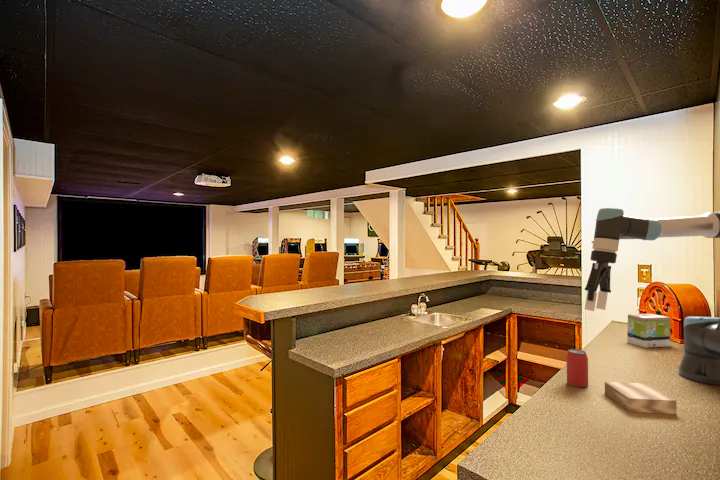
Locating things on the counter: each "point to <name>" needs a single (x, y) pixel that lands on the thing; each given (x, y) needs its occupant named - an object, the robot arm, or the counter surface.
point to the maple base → (640, 397)
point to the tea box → (648, 330)
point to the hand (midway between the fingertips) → (595, 309)
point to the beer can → (577, 368)
